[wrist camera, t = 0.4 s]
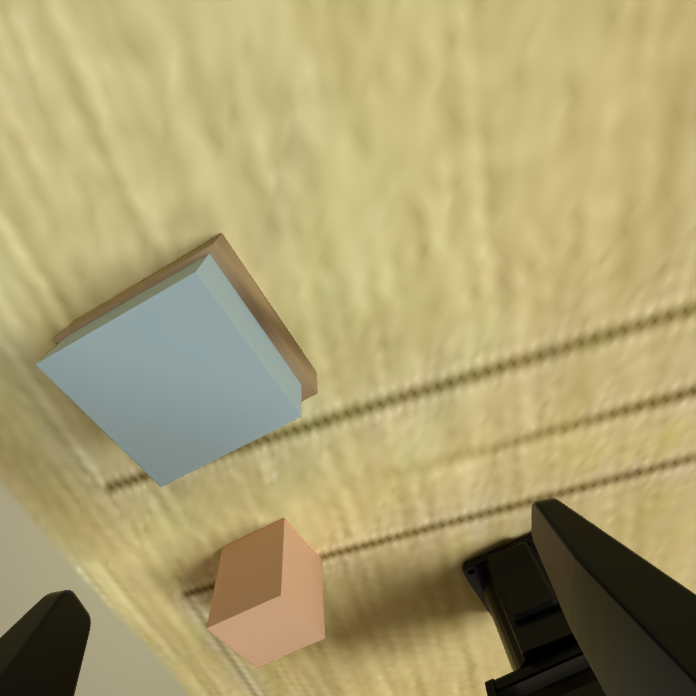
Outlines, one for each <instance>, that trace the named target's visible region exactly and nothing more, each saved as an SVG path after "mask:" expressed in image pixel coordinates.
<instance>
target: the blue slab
mask: <svg viewBox="0 0 696 696" xmlns="http://www.w3.org/2000/svg"><path fill="white" fill-rule="evenodd" d="M35 365H36V366H37V367H38V368H39V369H40V370H41V371H42V372H43V373H44V374H45V375H46V376H47V377H48V378H49V379H50V380H51V381H52V382H53V383H54V384H56V385H57V386H58V387H59V388H60V389H61V390H62V391H63V392H64V393H65V394H66V395H67V396H68V397H69V398H70V399H71V400H72V401H73V402H74V403H75V404H76V405H77V406H78V407H79V408H80V409H81V410H82V411H83V412H84V413H85V414H86V415H87V416H88V417H89V418H90V419H91V420H92V421H93V422H95V423H96V424H97V425H98V426H99V427H100V428H101V429H102V430H103V431H104V432H105V433H106V434H107V435H108V436H109V437H110V438H111V439H112V440H113V441H114V442H115V443H116V444H117V445H118V446H119V447H120V448H121V449H122V450H123V451H124V452H125V453H126V454H127V455H128V456H129V457H130V458H131V459H133V460H134V461H135V462H136V463H137V464H138V465H139V466H140V467H141V468H142V469H143V470H144V471H145V472H146V473H147V474H148V475H149V476H150V477H151V478H152V479H153V480H154V481H155V482H156V483H157V484H158V485H159V486H160V487H162V486H164V485H166V484H168V483H170V482H172V481H174V480H176V479H178V478H180V477H182V476H184V475H186V474H188V473H190V472H192V471H194V470H196V469H198V468H200V467H202V466H204V465H206V464H208V463H210V462H212V461H214V460H216V459H218V458H220V457H222V456H224V455H226V454H228V453H230V452H232V451H234V450H236V449H238V448H240V447H242V446H244V445H246V444H248V443H250V442H252V441H254V440H256V439H258V438H260V437H262V436H264V435H266V434H268V433H270V432H272V431H274V430H276V429H278V428H280V427H282V426H284V425H286V424H287V423H289V422H291V421H293V420H295V419H297V418H299V417H301V388H302V385H301V383H300V382H299V380H298V379H297V378H296V376H295V375H294V373H293V372H292V370H291V369H290V368H289V366H288V365H287V363H286V362H285V360H284V359H283V358H282V356H281V355H280V353H279V352H278V350H277V349H276V348H275V346H274V345H273V343H272V342H271V340H270V339H269V338H268V336H267V335H266V333H265V332H264V330H263V329H262V328H261V326H260V325H259V323H258V322H257V320H256V319H255V318H254V316H253V315H252V313H251V312H250V310H249V309H248V308H247V306H246V305H245V303H244V302H243V300H242V299H241V298H240V296H239V295H238V293H237V292H236V290H235V289H234V288H233V286H232V285H231V283H230V282H229V280H228V279H227V278H226V276H225V275H224V273H223V272H222V270H221V269H220V268H219V266H218V265H217V263H216V262H215V260H214V259H213V258H212V256H211V255H210V253H209V254H207V255H206V256H204V257H202V258H200V259H199V260H197V261H195V262H194V263H192V264H190V265H188V266H187V267H185V268H183V269H181V270H180V271H178V272H176V273H175V274H173V275H171V276H169V277H168V278H166V279H164V280H163V281H161V282H159V283H157V284H156V285H154V286H152V287H151V288H149V289H147V290H145V291H144V292H142V293H140V294H139V295H137V296H135V297H133V298H132V299H130V300H128V301H126V302H125V303H123V304H121V305H120V306H118V307H116V308H114V309H113V310H111V311H109V312H108V313H106V314H104V315H102V316H101V317H99V318H97V319H96V320H94V321H92V322H90V323H89V324H87V325H85V326H84V327H82V328H80V329H78V330H77V331H75V332H73V333H71V334H70V335H68V336H67V337H66V338H65V339H63V340H62V341H61V342H60V343H59V344H58V345H57V346H56V347H54V348H53V349H52V350H51V351H50V352H49V353H48V354H46V355H45V356H44V357H43V358H42V359H41V360H40V361H39V362H37V363H36V364H35Z"/></svg>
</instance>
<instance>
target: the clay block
mask: <svg viewBox="0 0 696 696" xmlns="http://www.w3.org/2000/svg"><path fill="white" fill-rule="evenodd" d="M207 629H208V630H209V631H211V632H212V633H213V634H214V635H216V636H217V637H218V638H219V639H221V640H222V641H223V642H224V643H225V644H227V645H228V646H229V647H230V648H232V649H233V650H234V651H235V652H237V653H238V654H239V655H240V656H242V657H243V658H244V659H245V660H247V661H248V662H249V663H250V664H252V665H253V666H254V667H255V668H256V667H259V666H261V665H263V664H266V663H268V662H270V661H273V660H275V659H277V658H280V657H282V656H285V655H287V654H289V653H292V652H294V651H296V650H299V649H301V648H304V647H306V646H308V645H311V644H313V643H315V642H318V641H320V640H323V639H325V623H324V600H323V577H322V559H321V558H320V557H319V556H318V555H317V554H316V553H315V552H314V550H313V549H312V548H311V547H310V546H309V545H308V544H307V543H306V541H305V540H304V539H303V538H302V537H301V536H300V535H299V534H298V532H297V531H296V530H295V529H294V528H293V527H292V526H291V525H290V523H289V522H288V521H287V520H286V519H285V518H283V519H281V520H279V521H277V522H275V523H273V524H270V525H268V526H266V527H264V528H262V529H260V530H258V531H256V532H253V533H251V534H249V535H247V536H245V537H243V538H241V539H239V540H236V541H234V542H232V543H230V544H228V545H226V546H224V547H222V551H221V556H220V561H219V567H218V572H217V577H216V582H215V587H214V593H213V598H212V603H211V608H210V613H209V619H208V624H207Z"/></svg>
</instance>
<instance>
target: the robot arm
mask: <svg viewBox="0 0 696 696" xmlns="http://www.w3.org/2000/svg"><path fill="white" fill-rule="evenodd" d="M462 569H463V572H464V575H465V576H466V578H467V580H468V581H469V583H470V584H471V586H472V587H473V589H474V590H475V592H476V593H477V595H478V596H479V598H480V599H481V601H482V602H483V604H484V605H485V607H486V608H487V610H488V611H489V613H490V614H491V616H492V617H493V620H494V623H495V625H496V628H497V631H498V633H499V636H500V638H501V641H502V644H503V646H504V649H505V651H506V654H507V657H508V659H509V662H510V664H511V667H512V670H513V672H511V673H509V674H507V675H504V676H502V677H500V678H498V679H496V680H494V679H491V680H489V681H486V682H485V686H486V691H487V695H488V696H696V594H694V593H693V592H691V591H690V590H688V589H687V588H685V587H684V586H683V585H681V584H680V583H678V582H677V581H675V580H674V579H672V578H671V577H669V576H668V575H667V574H665V573H664V572H662V571H661V570H659V569H658V568H656V567H655V566H653V565H652V564H651V563H649V562H648V561H646V560H645V559H643V558H642V557H640V556H639V555H637V554H636V553H635V552H633V551H632V550H630V549H629V548H627V547H626V546H624V545H623V544H621V543H620V542H619V541H617V540H616V539H614V538H613V537H611V536H610V535H608V534H607V533H605V532H604V531H602V530H601V529H600V528H598V527H597V526H595V525H594V524H592V523H591V522H589V521H588V520H586V519H585V518H584V517H582V516H581V515H579V514H578V513H576V512H575V511H573V510H572V509H570V508H569V507H568V506H566V505H565V504H563V503H562V502H560V501H559V500H557V499H554V498H548V499H543V500H537V501H534V502H533V504H532V535H530V536H528V537H525V538H523V539H521V540H518V541H516V542H513V543H511V544H509V545H506V546H504V547H502V548H499V549H497V550H495V551H492V552H490V553H488V554H485V555H483V556H481V557H478V558H476V559H474V560H471V561H469V562H467V563H465V564H464V565H463V566H462ZM90 624H91V621H90V616H89V613H88V612H87V610H86V609H85V608H84V606H83V605H82V603H81V602H80V600H79V599H78V598H77V596H76V595H75V593H73V591H70V590H64V591H58V592H53V593H50V594H48V595H46V596H44V597H43V598H42V599H41V600H40V601H39V602H38V603H37V604H36V605H35V606H33V607H32V608H31V609H30V610H29V611H28V612H27V613H26V614H25V615H24V616H23V617H22V618H21V619H20V620H19V621H18V622H17V623H16V624H15V625H13V627H11V628H10V629H9V630H8V631H7V632H6V633H5V634H4V635H3V636H2V637H1V638H0V696H74V694H75V689H76V686H77V681H78V677H79V673H80V669H81V665H82V660H83V656H84V652H85V648H86V644H87V640H88V635H89V631H90Z"/></svg>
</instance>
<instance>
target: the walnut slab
mask: <svg viewBox="0 0 696 696" xmlns="http://www.w3.org/2000/svg"><path fill="white" fill-rule="evenodd" d="M209 253H210V255H211V256H212V258H213V259H214V260H215V262H216V263H217V265H218V266H219V268H220V269H221V270H222V272H223V273H224V275H225V276H226V278H227V279H228V280H229V282H230V283H231V285H232V286H233V288H234V289H235V290H236V292H237V293H238V295H239V296H240V298H241V299H242V300H243V302H244V303H245V305H246V306H247V308H248V309H249V310H250V312H251V313H252V315H253V316H254V318H255V319H256V320H257V322H258V323H259V325H260V326H261V328H262V329H263V330H264V332H265V333H266V335H267V336H268V338H269V339H270V340H271V342H272V343H273V345H274V346H275V348H276V349H277V350H278V352H279V353H280V355H281V356H282V358H283V359H284V360H285V362H286V363H287V365H288V366H289V368H290V369H291V370H292V372H293V373H294V375H295V376H296V378H297V379H298V380H299V382H300V383H301V385H302V388H301V401H303V400H305V399H307V398H309V397H311V396H313V395H315V394H317V374H316V371H315V369H314V368H313V366H312V365H311V363H310V362H309V360H308V359H307V357H306V356H305V355H304V353H303V352H302V350H301V349H300V347H299V346H298V344H297V343H296V341H295V340H294V338H293V337H292V335H291V334H290V332H289V331H288V330H287V328H286V327H285V325H284V324H283V322H282V321H281V319H280V318H279V316H278V315H277V313H276V312H275V310H274V309H273V307H272V306H271V305H270V303H269V302H268V300H267V299H266V297H265V296H264V294H263V293H262V291H261V290H260V288H259V287H258V285H257V284H256V282H255V281H254V279H253V278H252V277H251V275H250V274H249V272H248V271H247V269H246V268H245V266H244V265H243V263H242V262H241V260H240V259H239V257H238V256H237V254H236V253H235V252H234V250H233V249H232V247H231V246H230V244H229V243H228V241H227V240H226V238H225V237H224V235H223V234H222V233H221V234H219V235H218V236H216V237H214V238H212V239H211V240H209V241H207V242H206V243H204V244H202V245H201V246H199V247H197V248H196V249H194V250H192V251H191V252H189V253H187V254H186V255H184V256H182V257H181V258H179V259H177V260H176V261H174V262H172V263H171V264H169V265H167V266H166V267H164V268H162V269H161V270H159V271H157V272H156V273H154V274H152V275H151V276H149V277H147V278H145V279H144V280H142V281H140V282H139V283H137V284H135V285H134V286H132V287H130V288H129V289H127V290H125V291H124V292H122V293H120V294H119V295H117V296H115V297H114V298H112V299H110V300H109V301H107V302H105V303H104V304H102V305H100V306H99V307H97V308H95V309H94V310H92V311H90V312H89V313H87V314H85V315H84V316H82V317H80V318H78V319H77V320H75V321H74V322H73V323H71V324H70V325H69V326H68V327H67V328H66V329H64V330H63V331H62V332H61V333H60V334H58V335H57V336H56V337H55V338H54V339H53V341H54V342H55V343H56V344H57V345H58V344H59V343H60V342H61V341H62V340H63V339H65V338H66V337H67V336H68V335H70V334H71V333H73V332H75V331H77V330H78V329H80V328H82V327H84V326H85V325H87V324H89V323H90V322H92V321H94V320H96V319H97V318H99V317H101V316H102V315H104V314H106V313H108V312H109V311H111V310H113V309H114V308H116V307H118V306H120V305H121V304H123V303H125V302H126V301H128V300H130V299H132V298H133V297H135V296H137V295H139V294H140V293H142V292H144V291H145V290H147V289H149V288H151V287H152V286H154V285H156V284H157V283H159V282H161V281H163V280H164V279H166V278H168V277H169V276H171V275H173V274H175V273H176V272H178V271H180V270H181V269H183V268H185V267H187V266H188V265H190V264H192V263H194V262H195V261H197V260H199V259H200V258H202V257H204V256H206V255H207V254H209Z"/></svg>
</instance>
